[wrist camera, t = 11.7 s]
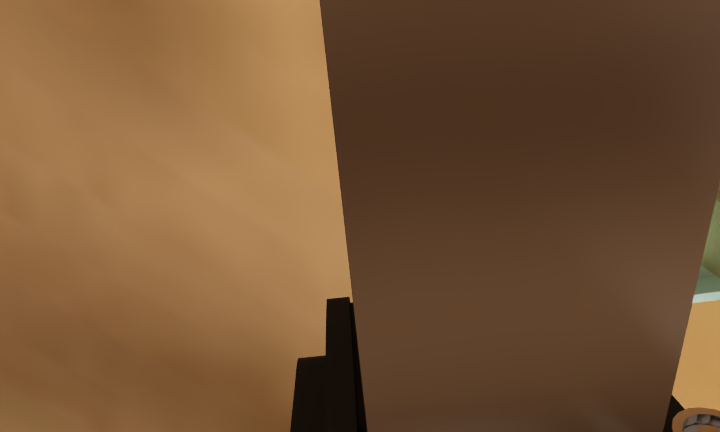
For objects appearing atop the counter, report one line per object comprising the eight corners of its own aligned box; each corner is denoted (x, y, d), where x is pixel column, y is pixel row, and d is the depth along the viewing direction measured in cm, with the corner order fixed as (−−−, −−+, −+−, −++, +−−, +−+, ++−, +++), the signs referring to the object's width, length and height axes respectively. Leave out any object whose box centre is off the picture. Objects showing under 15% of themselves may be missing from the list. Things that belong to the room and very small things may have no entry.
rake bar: (497, 554, 17) (575, 812, 12) (386, 566, 17) (411, 832, 12) (532, -246, 8) (932, -752, 3) (302, -225, 8) (241, -702, 3)
